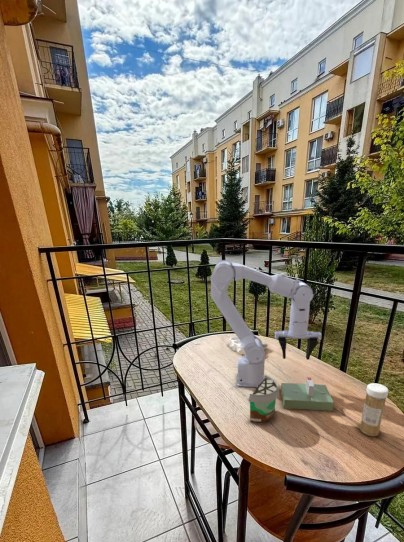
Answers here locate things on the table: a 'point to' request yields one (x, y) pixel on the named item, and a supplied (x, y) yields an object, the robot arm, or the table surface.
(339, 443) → the table surface
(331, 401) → the plate
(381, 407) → the sprinkles bottle
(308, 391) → the tap handle
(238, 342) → the cream bumpy slab
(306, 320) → the robot arm
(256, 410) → the food container
